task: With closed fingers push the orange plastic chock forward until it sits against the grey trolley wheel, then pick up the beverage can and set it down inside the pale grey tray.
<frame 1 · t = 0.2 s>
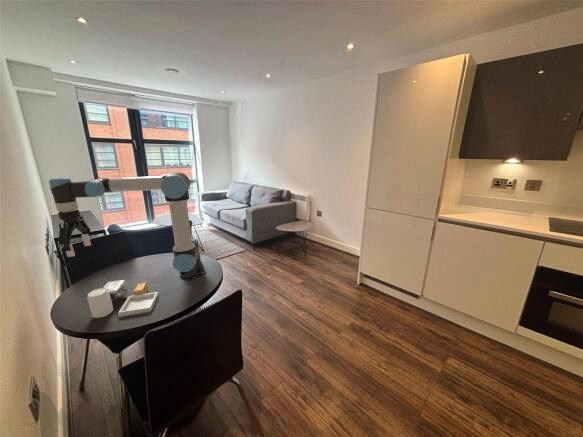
hand: (80, 250, 118), 28 cm above the table, fingers open, 13 cm apart
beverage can: (103, 313, 113), on the table
trolley: (120, 299, 124), on the table
chock: (142, 294, 128), on the table
tray: (140, 305, 119), on the table
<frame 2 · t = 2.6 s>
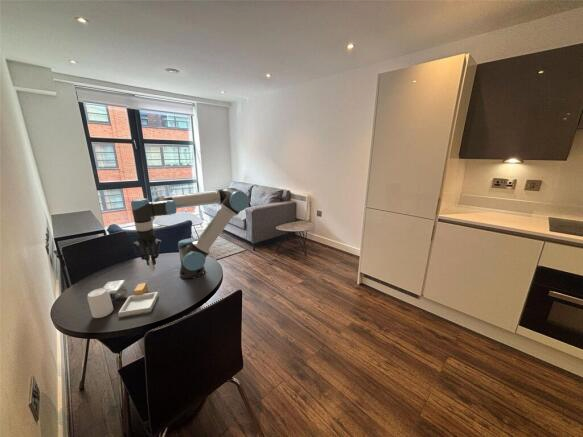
hand: (152, 270, 125), 14 cm above the table, fingers closed
nothing on the table moved.
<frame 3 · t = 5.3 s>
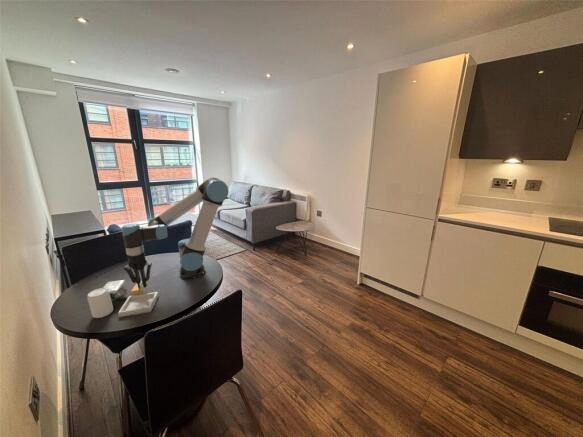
hand: (143, 292, 127), 2 cm above the table, fingers closed
chock: (139, 294, 128), on the table, touching gripper
everything else where it was.
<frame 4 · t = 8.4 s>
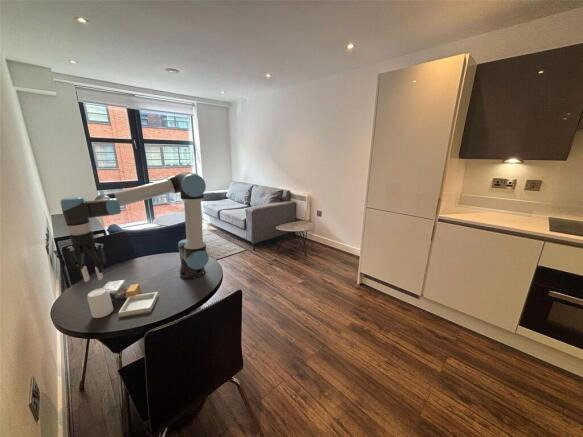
hand: (94, 279, 108), 19 cm above the table, fingers open, 5 cm apart
chock: (134, 295, 127), on the table
everything else where it was.
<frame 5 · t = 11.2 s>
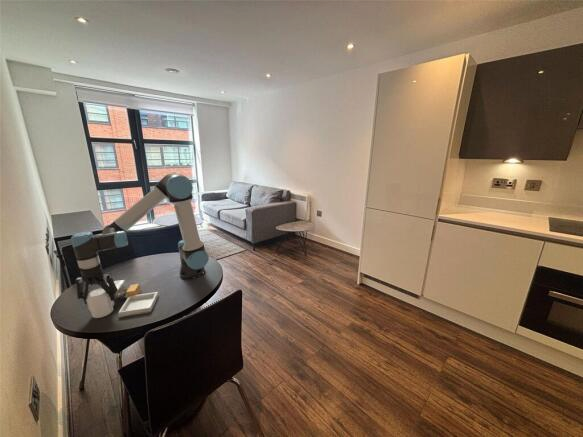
hand: (102, 307, 112), 3 cm above the table, fingers closed on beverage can, 8 cm apart
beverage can: (103, 313, 113), on the table, touching gripper
everything else where it was.
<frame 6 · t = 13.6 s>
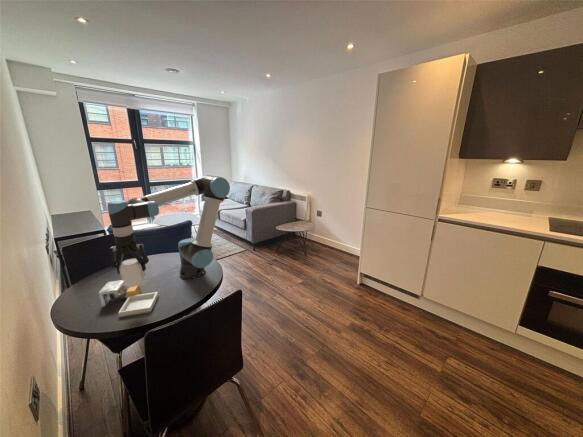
hand: (133, 277, 114), 16 cm above the table, fingers closed on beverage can, 8 cm apart
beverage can: (134, 283, 115), point 13 cm above the table, touching gripper
everything else where it was.
when the fingers open (5 cm above the table, at t = 16.0 s): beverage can stays where it is, resting on tray.
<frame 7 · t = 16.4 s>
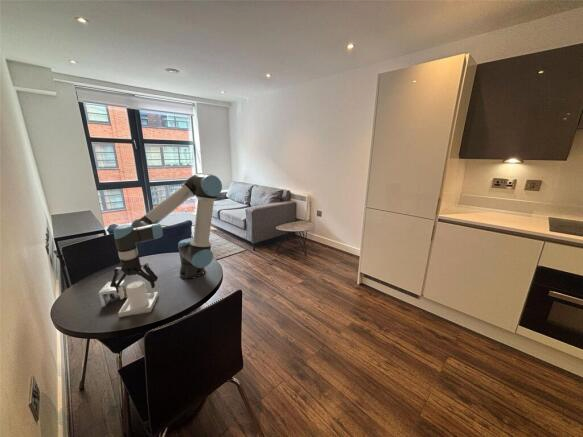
hand: (137, 295, 117), 6 cm above the table, fingers open, 13 cm apart
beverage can: (140, 305, 118), resting on tray
everything else where it was.
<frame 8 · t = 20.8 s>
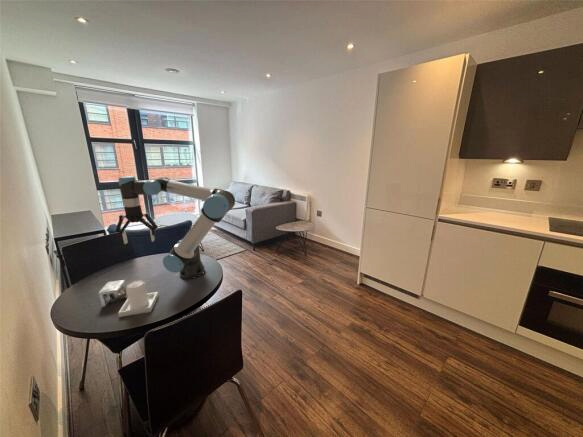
hand: (139, 242, 131), 27 cm above the table, fingers open, 13 cm apart
nothing on the table moved.
at the end: chock 1.6 cm from the target spot on the trolley, point 0.0 cm above the trolley's base; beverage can inside the target area on the tray (0.1 cm from its centre), point 0.4 cm above the tray's base; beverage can tilted 0° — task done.
